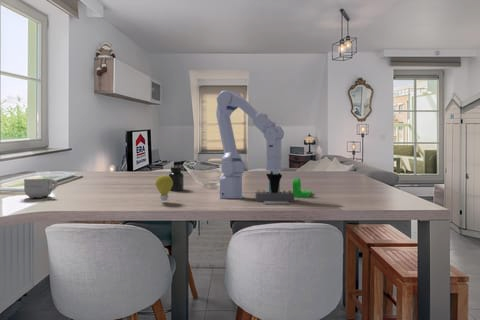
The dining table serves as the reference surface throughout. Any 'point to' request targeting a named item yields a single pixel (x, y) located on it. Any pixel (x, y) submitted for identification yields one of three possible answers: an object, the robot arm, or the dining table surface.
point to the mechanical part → (299, 189)
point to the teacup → (39, 187)
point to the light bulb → (164, 186)
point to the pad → (275, 202)
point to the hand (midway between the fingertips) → (273, 191)
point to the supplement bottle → (177, 179)
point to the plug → (270, 187)
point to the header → (274, 196)
